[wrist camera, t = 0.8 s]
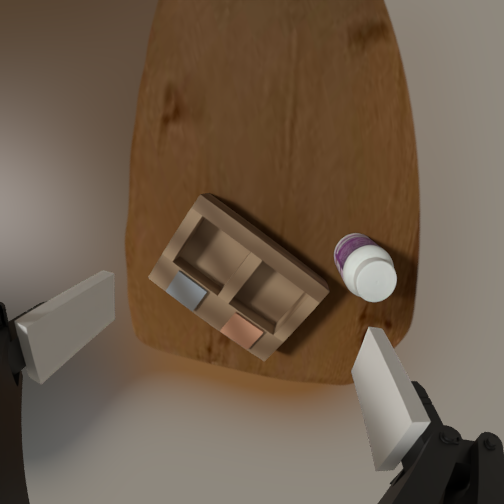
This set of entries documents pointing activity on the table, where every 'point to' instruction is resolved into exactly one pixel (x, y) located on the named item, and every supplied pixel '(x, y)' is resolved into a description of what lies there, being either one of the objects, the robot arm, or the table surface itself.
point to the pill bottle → (365, 267)
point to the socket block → (237, 278)
